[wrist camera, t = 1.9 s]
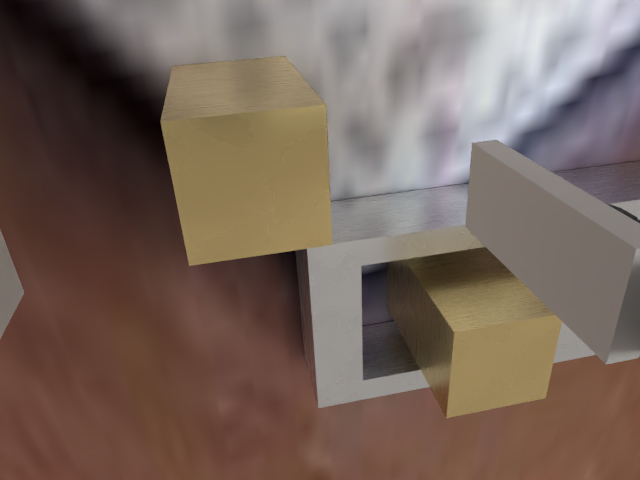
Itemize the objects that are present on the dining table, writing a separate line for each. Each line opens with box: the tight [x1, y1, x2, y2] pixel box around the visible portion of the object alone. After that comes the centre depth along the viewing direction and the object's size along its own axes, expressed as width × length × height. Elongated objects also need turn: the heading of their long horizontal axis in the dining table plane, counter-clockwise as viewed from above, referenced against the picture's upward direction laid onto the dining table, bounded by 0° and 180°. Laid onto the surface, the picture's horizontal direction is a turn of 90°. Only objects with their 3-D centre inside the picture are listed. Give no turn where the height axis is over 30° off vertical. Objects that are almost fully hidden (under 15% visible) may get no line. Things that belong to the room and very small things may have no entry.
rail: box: [295, 161, 640, 408], centre depth 27 cm, size 9×28×4 cm, turn 93°
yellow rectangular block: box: [161, 56, 332, 266], centre depth 19 cm, size 4×4×8 cm
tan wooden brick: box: [387, 247, 562, 418], centre depth 25 cm, size 4×4×8 cm
